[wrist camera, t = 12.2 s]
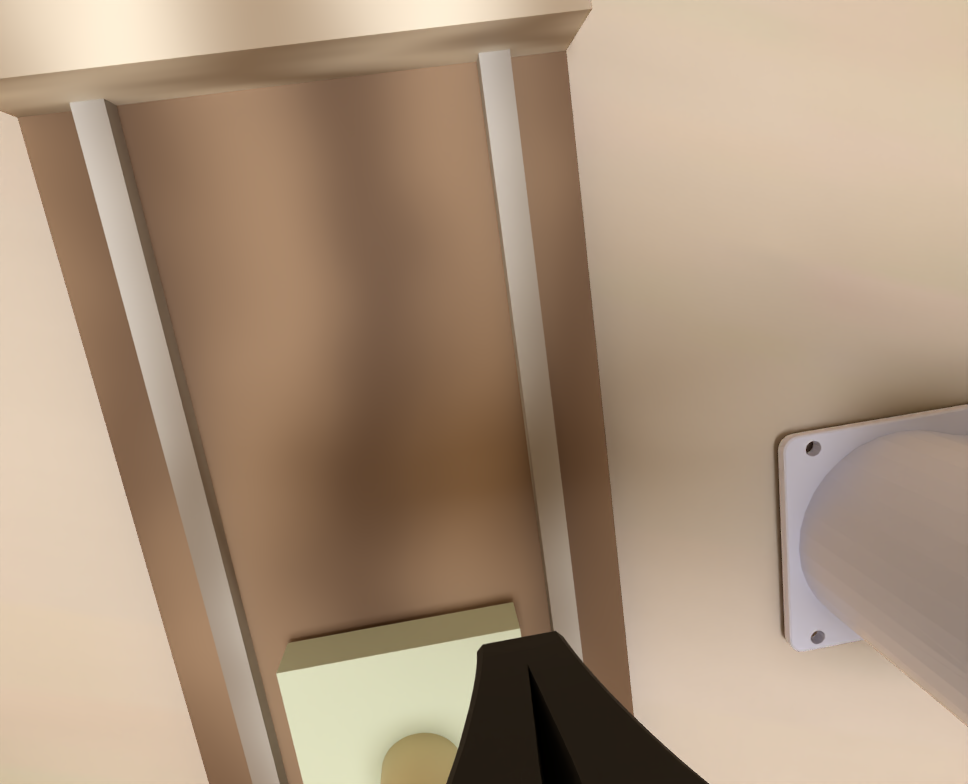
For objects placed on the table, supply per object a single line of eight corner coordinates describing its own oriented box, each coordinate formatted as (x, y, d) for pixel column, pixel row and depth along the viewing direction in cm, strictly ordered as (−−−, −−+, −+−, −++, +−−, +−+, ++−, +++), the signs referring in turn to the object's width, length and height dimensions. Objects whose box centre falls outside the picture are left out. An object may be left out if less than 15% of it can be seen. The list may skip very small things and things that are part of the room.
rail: (540, -100, 16) (575, -212, 12) (641, 860, 22) (682, 974, 19) (-4, -42, 15) (-144, -144, 11) (270, 939, 21) (238, 1075, 18)
